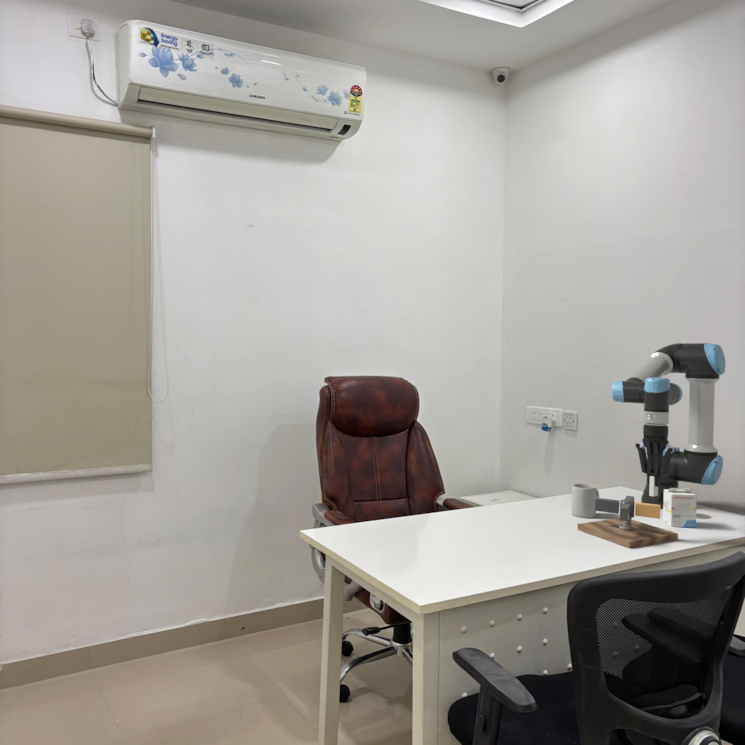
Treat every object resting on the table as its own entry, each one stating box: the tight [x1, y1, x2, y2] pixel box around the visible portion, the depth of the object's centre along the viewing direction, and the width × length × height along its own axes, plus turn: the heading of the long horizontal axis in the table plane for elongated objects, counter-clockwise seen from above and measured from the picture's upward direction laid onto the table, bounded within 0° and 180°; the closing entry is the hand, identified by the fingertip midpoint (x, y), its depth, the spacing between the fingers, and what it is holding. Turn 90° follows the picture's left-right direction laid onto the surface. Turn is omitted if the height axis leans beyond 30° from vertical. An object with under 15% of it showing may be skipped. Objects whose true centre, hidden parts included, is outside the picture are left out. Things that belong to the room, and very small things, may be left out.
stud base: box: [577, 517, 679, 549], centre depth 212 cm, size 22×22×6 cm
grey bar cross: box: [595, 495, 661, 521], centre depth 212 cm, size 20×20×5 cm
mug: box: [571, 483, 600, 519], centre depth 237 cm, size 12×8×11 cm
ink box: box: [662, 487, 698, 528], centre depth 226 cm, size 9×8×13 cm
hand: (653, 495), depth 210 cm, fingers closed
